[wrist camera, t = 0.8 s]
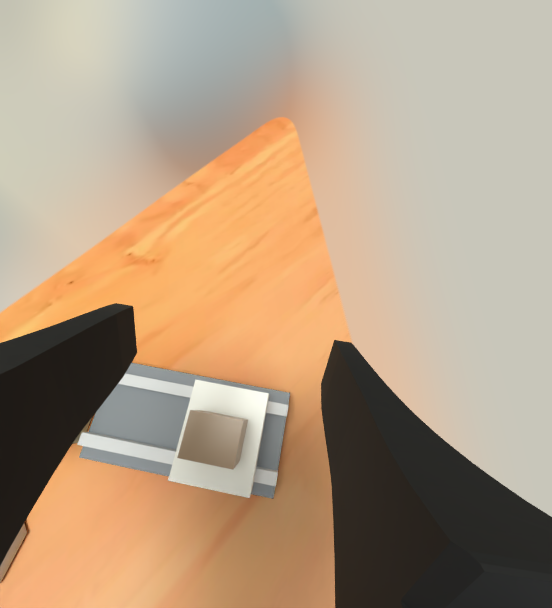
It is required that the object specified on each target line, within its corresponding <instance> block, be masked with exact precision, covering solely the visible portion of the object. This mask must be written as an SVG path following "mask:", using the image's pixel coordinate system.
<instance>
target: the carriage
mask: <svg viewBox="0 0 552 608" xmlns="http://www.w3.org/2000/svg"><path fill="white" fill-rule="evenodd" d="M268 400H269V393H264V392H258V391H253V390H248V389H243V388H237V387H232V386H227V385H222V384H217V383H211V382H206V381H201V380H196V379H195V383H194V387H193V390H192V394H191V398H190V401H189V405H188V409H187V412H186V416H185V420H184V424H183V427H182V431H181V435H180V438H179V442H178V446H177V449H176V453H175V457H174V460H173V464H172V468H171V471H170V475H169V479H168V481H172V482H177V483H181V484H186V485H191V486H195V487H200V488H205V489H209V490H214V491H219V492H223V493H228V494H233V495H238V496H242V497H247V498H250V495H251V492H252V487H253V482H254V476H255V471H256V466H257V460H258V455H259V449H260V444H261V438H262V433H263V427H264V422H265V416H266V411H267V405H268Z"/></svg>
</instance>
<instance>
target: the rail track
mask: <svg viewBox="0 0 552 608" xmlns="http://www.w3.org/2000/svg"><path fill="white" fill-rule="evenodd" d="M195 379H196V380H201V381H206V382H211V383H217V384H222V385H227V386H232V387H237V388H243V389H248V390H253V391H258V392H264V393H269V400H268V405H267V411H266V416H265V422H264V427H263V433H262V438H261V444H260V449H259V455H258V460H257V466H256V471H255V476H254V482H253V487H252V492H251V494H253V495H258V496H263V497H267V498H272V499H273V498H274V492H275V486H276V482H277V475H278V466H279V460H280V454H281V447H282V441H283V435H284V429H285V422H286V417H287V412H288V406H289V405H288V403H289V397H290V393H287V392H282V391H277V390H272V389H266V388H261V387H256V386H251V385H245V384H240V383H235V382H230V381H224V380H219V379H214V378H208V377H203V376H198V375H193V374H187V373H182V372H177V371H172V370H166V369H161V368H156V367H151V366H145V365H140V364H135V363H131V365H130V366H129V368H128V370H127V371H126V373H125V375H124V376H123V378H122V379H121V380H120V382H119V383H118V384H117V386H116V387H115V388H114V390H113V391H112V392H111V394H110V395H109V396H108V397H107V399H106V400H105V401H104V403H103V404H102V405H101V406H100V408H99V409H98V410H97V412H96V413H95V416H94V419H93V421H92V424H91V427H90V429H89V432H82V433H81V436H80V439H79V441H78V444H77V445H81V446H83V448H82V451H81V453H80V456H79V457H80V458H84V459H89V460H94V461H98V462H103V463H108V464H112V465H117V466H122V467H127V468H131V469H136V470H141V471H145V472H150V473H155V474H159V475H164V476H169V475H170V471H171V468H172V464H173V460H174V457H175V453H176V449H177V446H178V442H179V438H180V435H181V431H182V427H183V424H184V420H185V416H186V412H187V409H188V405H189V401H190V398H191V394H192V390H193V387H194V383H195Z"/></svg>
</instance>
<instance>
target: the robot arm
mask: <svg viewBox="0 0 552 608" xmlns="http://www.w3.org/2000/svg"><path fill="white" fill-rule="evenodd" d="M136 354H137V348H136V336H135V323H134V311H133V306H128V305H122V304H117V303H116V304H112V305H108V306H105V307H102V308H99V309H97V310H94V311H91V312H88V313H86V314H83V315H80V316H78V317H75V318H72V319H70V320H67V321H64V322H61V323H59V324H56V325H53V326H51V327H48V328H45V329H42V330H39V331H36V332H33V333H30V334H27V335H24V336H21V337H18V338H15V339H12V340H9V341H6V342H2V343H0V566H1V564H2V562H3V560H4V558H5V556H6V554H7V552H8V551H9V549H10V547H11V545H12V544H13V542H14V540H15V538H16V536H17V535H18V533H19V531H20V529H21V528H22V526H23V524H24V522H25V520H26V519H27V517H28V515H29V513H30V512H31V510H32V508H33V506H34V505H35V503H36V501H37V500H38V498H39V496H40V495H41V493H42V491H43V490H44V488H45V486H46V485H47V483H48V481H49V480H50V478H51V476H52V475H53V473H54V471H55V470H56V468H57V467H58V465H59V464H60V462H61V460H62V459H63V457H64V456H65V454H66V453H67V451H68V449H69V448H70V446H71V445H72V443H73V442H74V441H75V439H76V438H77V436H78V435H79V434H80V432H81V431H82V430H83V428H84V427H85V426H86V424H87V423H88V422H89V421H90V419H91V418H92V417H93V415H94V414H95V413H96V412H97V410H98V409H99V408H100V406H101V405H102V404H103V403H104V401H105V400H106V399H107V397H108V396H109V395H110V394H111V392H112V391H113V390H114V388H115V387H116V386H117V384H118V383H119V382H120V380H121V379H122V378H123V376H124V375H125V373H126V371H127V370H128V368H129V366H130V365H131V363H132V361H133V359H134V357H135V355H136ZM321 404H322V416H323V423H324V431H325V437H326V444H327V451H328V458H329V465H330V473H331V482H332V499H333V521H334V552H335V608H552V517H551V516H549V515H547V514H546V513H544V512H543V511H541V510H540V509H538V508H536V507H535V506H533V505H532V504H530V503H528V502H527V501H525V500H524V499H522V498H521V497H519V496H518V495H517V494H515V493H514V492H512V491H511V490H509V489H508V488H507V487H505V486H503V485H502V484H501V483H499V482H498V481H496V480H495V479H494V478H492V477H491V476H489V475H488V474H487V473H485V472H484V471H483V470H481V469H480V468H478V467H477V466H476V465H475V464H473V463H472V462H471V461H469V460H468V459H467V458H466V457H464V456H463V455H462V454H460V453H459V452H458V451H457V450H455V449H454V448H453V447H452V446H450V445H449V444H448V443H447V442H445V441H444V440H443V439H442V438H441V437H440V436H438V435H437V434H436V433H435V432H434V431H433V430H431V429H430V428H429V427H428V426H427V425H426V424H425V423H424V422H423V421H421V420H420V419H419V418H418V417H417V416H416V415H415V414H414V413H413V412H412V411H411V410H410V409H409V408H408V407H407V406H406V405H405V404H404V403H403V402H402V401H401V400H400V399H399V398H398V397H397V396H396V395H395V394H394V393H393V392H392V390H391V389H390V388H389V387H388V386H387V385H386V384H385V383H384V381H383V380H382V379H381V378H380V377H379V376H378V374H377V373H376V372H375V371H374V370H373V368H372V367H371V366H370V365H369V364H368V362H367V361H366V360H365V359H364V357H363V356H362V355H361V354H360V353H359V351H358V350H357V349H356V348H355V346H354V345H353V344H352V343H349V342H343V341H337V340H334V343H333V346H332V350H331V353H330V356H329V360H328V363H327V366H326V369H325V373H324V376H323V379H322V383H321Z"/></svg>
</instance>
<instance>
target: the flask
mask: <svg viewBox="0 0 552 608" xmlns="http://www.w3.org/2000/svg"><path fill="white" fill-rule="evenodd" d="M26 534H27V530H26V527H25V524H23V526H22V528H21V529H20V531H19V533H18V535H17V536H16V538H15V540H14V542H13V544H12V545H11V547H10V549H9V551H8V552H7V554H6V556H5V558H4V560H3V562H2V564H1V566H0V583H1V581H2V579H3V577H4V575H5V573H6V572H7V570H8V568H9V566H10V564H11V562H12V560H13V558H14V556H15V555H16V553H17V551H18V549H19V547H20V545H21V543H22V541H23V539H24V538H25V536H26Z"/></svg>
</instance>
